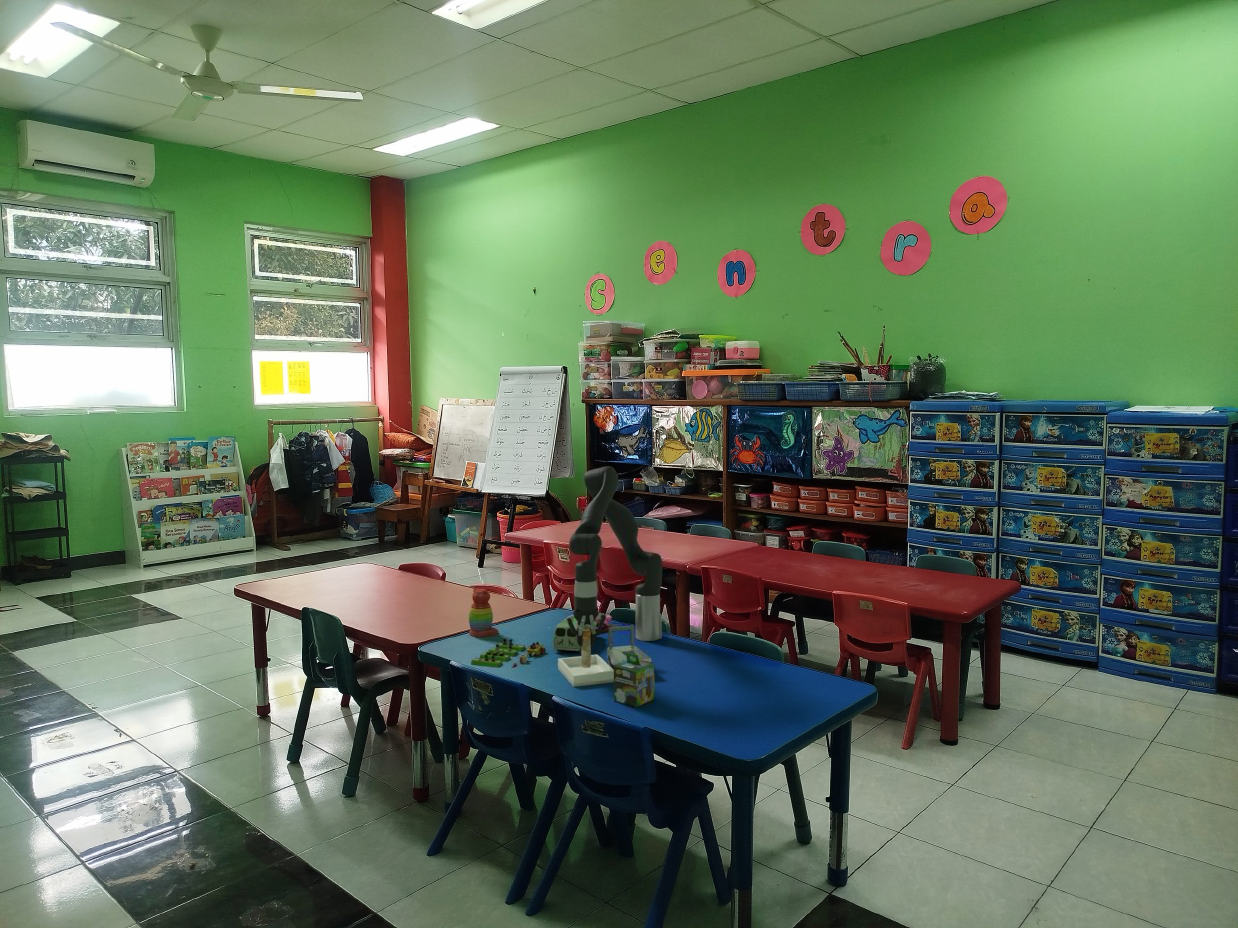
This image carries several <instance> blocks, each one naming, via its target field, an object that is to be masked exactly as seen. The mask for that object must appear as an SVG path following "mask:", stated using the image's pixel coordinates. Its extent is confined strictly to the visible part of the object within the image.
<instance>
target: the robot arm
mask: <svg viewBox="0 0 1238 928" xmlns="http://www.w3.org/2000/svg"><path fill="white" fill-rule="evenodd" d="M583 480H584V481H583V482H584V485H585V487H586V490H587V491H588V493H589V495H590V497H591V498H592V500H591V501H590V503H589V502H588V503H589V504H587V506H586V507H585V509H584V511H583V512H582V517H581V520H580V522H579V523H580V524H579V525H578V526H577V527H576V529H575V531H574V532H573V533H572V534H571V537H570V539H569V542H568V548H569V551H570V552H571V553H572V554H573V555H575V556H576V555H577V556H589V559H588V560H584V561H579V562H576V564H575V565H574V589H573V590H574V591H573V593H574V597H573V598H574V599H573V600H574V601H573V602H574V611H572V612H573V613H572V614H571V615H567V616H565V618H566V621H567V623H568V625H569V628H570V630H571V632H572V633H573V634H576V635H577V644H578V645H579V646H580V647H582V630H583V628H584V625H586V624H588V625H589V629H590V630H591V646H594V644H595V643H596V639H595V634H596V633H597V632H600V631H601V628H602V626H603V623H604V621H605V618H606V614H605V613H603V612H599V610H598V582H597V569H598V568H597V567H598V566H597V565H598V561H599V556H600V554H601V553H600V552H601V551H602V546H603V540H602V538H601V536H600V535H599V533H600V532H601V529H602V528H601V527H602V525H603V521H604V518H605V519H606V520H607V523H608V524H609V527H610V528H611V530H612V532H613V534H614V536H615V537H616V538H617V540H618V542H619V544H620V546H621V547H622V549H623V551H624V553H625V556H626V558H627V561H628V563H629V565H630V567H631V569H632V571H633V572H634V573H635V574H636V575H639V576H644V577H645V579H644V582H643V583H640V584H638V585H636V586H635V631H634V635H635V638H636V640H638V641H642V642H644V641H645V642H651V641H657V640H661V639H662V638H663V637H662V636H663V635H662V631H663V629H662V624H663V623H662V620H663V619H662V617H663V616H662V613H661V612H660V611H661V605H660V604H661V602H660V600H661V599H660V598H661V597H660V595H661V594H660V593H661V587H662V583H663V579H662V578H663V567H664V566H663V565H664V564H663V558H662V556H661V555H660V554H659V553H657V552H653V551H652V552H651V551H645V550H643V548H642V547H641V545H640V544H639V541H638V535H639V525H638V523H637V520H636V519H635V517H634V515H633V513H632V512H631V510H630V509H629V508H628V507H626V506H624V505H623V504H621V503H620V502H618V501H616V500H615V499H613V497H614V495H615V493H616V491H617V488H618V485H619V476H618V473H617V471H616V469H615V468H614V467H613V466H609V465H608V466H601V467H599V468H594V469H591V470H590V469H589V470H587V471H586V472H585V473H584V475H583ZM568 616H569V617H568ZM597 617H598V622H597V625H596V627H595V625H594V621H595V619H596V618H597ZM574 618H575V619H576V620H577V621H578V622H577V630H575V627H574V625H573V623H572V622H574Z"/></svg>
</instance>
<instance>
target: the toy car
mask: <svg viewBox="0 0 1238 928" xmlns="http://www.w3.org/2000/svg"><path fill="white" fill-rule="evenodd" d="M567 616H568V617H569V616H570V615H567ZM577 622H578V621H577V620H576V619H575V618H574V622H572V623H573V625H574V627H575V630H577ZM594 625H595V627H596V625H597V623H596V622H594ZM583 630H590V629H589V625H588V624H586V625H584V628H583ZM597 633H598V632H597ZM596 639H597V635H596V634H595V640H596ZM552 649H553V650H556V651H573V652H578V653H582V647H580V646H579V645H578V644H577V635H576V634H573V633H572V632H571V630H570V628H569V625H568V623H567V621H566V617H565V618H564V619H562V620H561V621H560V622H559V623H558V624H557V625H556V626H555V628H554V632H553V636H552Z"/></svg>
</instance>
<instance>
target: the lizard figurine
mask: <svg viewBox="0 0 1238 928" xmlns="http://www.w3.org/2000/svg"><path fill="white" fill-rule="evenodd" d="M605 615H606V614H605ZM611 620H612V616H611V615H610V614H609V615H606V618H605V621H604V623H603V626H602V628H601V631H600V632H598V633H596V636H599V635H604V634H609V628H611V627H621V625H618V624H616V623H615V624H614V623H611V622H610V621H611ZM594 622H596V623H597V622H598V616H597V618H596V619H595V621H594Z"/></svg>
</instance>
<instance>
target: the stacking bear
mask: <svg viewBox="0 0 1238 928" xmlns="http://www.w3.org/2000/svg"><path fill="white" fill-rule="evenodd" d="M472 592H473V593H472V596H471V597H472V601H473V603H472V604H471V606H470V608H469V612H468V624H469V628H470V629H469V635H470V636H472V637H474V638H475V637H476V638H479V637H481V638H482V637H490V636H494V635H497V634H499V629H498V628H497V627H493V626H492V625H493V622H494V613H493V610H492V606H491V604H490V603H489V601H490V599H491V593H490V592H489V591H488V590H487V589H486V588H476V587H475V588H474V589H473V591H472Z"/></svg>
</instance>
